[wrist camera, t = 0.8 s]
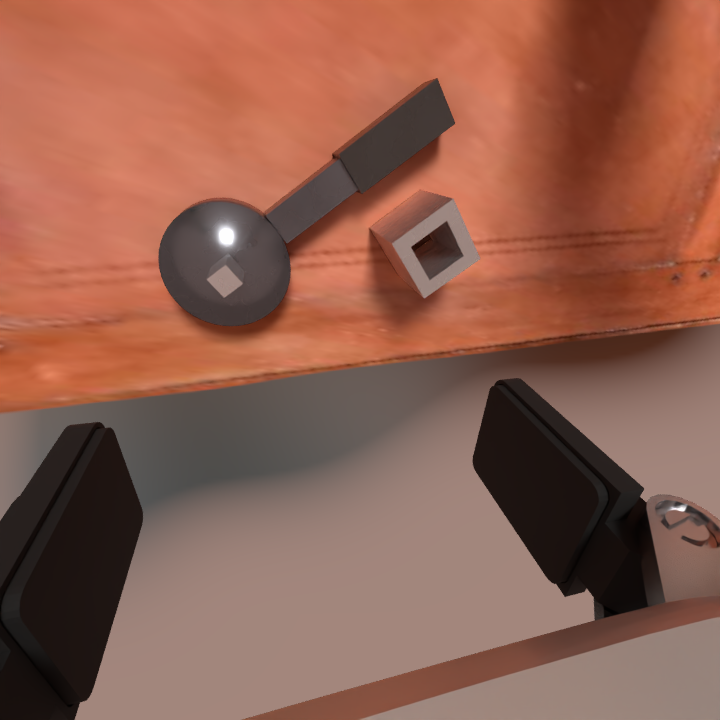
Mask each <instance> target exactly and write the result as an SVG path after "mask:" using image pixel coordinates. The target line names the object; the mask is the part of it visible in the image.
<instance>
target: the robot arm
mask: <svg viewBox="0 0 720 720" xmlns="http://www.w3.org/2000/svg"><path fill="white" fill-rule="evenodd" d="M473 466H474V469H475V471H476V473H477V474H478V476H479V477H480V479H481V480H482V482H483V483H484V485H485V486H486V488H487V489H488V491H489V492H490V494H491V495H492V496H493V498H494V500H495V501H496V503H497V504H498V505H499V507H500V508H501V510H502V511H503V513H504V515H505V516H506V517H507V519H508V520H509V522H510V523H511V525H512V526H513V528H514V529H515V531H516V532H517V534H518V535H519V537H520V538H521V540H522V541H523V543H524V544H525V546H526V547H527V549H528V550H529V552H530V553H531V555H532V556H533V558H534V559H535V561H536V562H537V564H538V565H539V567H540V568H541V570H542V571H543V573H544V574H545V576H546V577H547V578H548V580H550V581H551V582H552V583H554V584H557V586H558V587H559V589H560V590H561V592H562V593H563V595H564V596H565V597H566V596H570V595H573V594H578V593H582V592H584V591H585V590H586V588H587V589H588V590H589V592H590V593H591V594H592V596H593V597H594V616H595V621H592V622H588V623H584V624H581V625H577V626H573V627H570V628H566V629H563V630H559V631H555V632H552V633H548V634H544V635H541V636H537V637H533V638H530V639H526V640H522V641H519V642H515V643H511V644H508V645H504V646H501V647H497V648H493V649H490V650H486V651H483V652H479V653H475V654H472V655H468V656H465V657H461V658H458V659H454V660H451V661H447V662H443V663H440V664H436V665H433V666H430V667H426V668H422V669H418V670H415V671H411V672H408V673H404V674H401V675H397V676H394V677H390V678H386V679H383V680H380V681H376V682H373V683H369V684H365V685H362V686H358V687H355V688H351V689H347V690H344V691H340V692H337V693H333V694H330V695H326V696H323V697H319V698H316V699H312V700H309V701H305V702H302V703H298V704H295V705H291V706H288V707H284V708H281V709H278V710H274V711H271V712H267V713H264V714H260V715H257V716H253V717H249V718H246V719H243V720H720V520H719V519H718V518H716V517H715V516H713V515H712V514H711V513H710V512H708V511H707V510H705V509H704V508H702V507H700V506H698V505H697V504H695V503H693V502H690V501H688V500H685V499H683V498H680V497H676V496H672V495H655V496H652V497H650V499H649V500H648V501H647V502H645V501H644V500H643V499H642V498H641V497H640V495H641V494H642V492H643V490H644V488H643V487H642V486H641V485H640V484H639V483H637V482H636V481H635V480H634V479H633V478H632V477H631V476H630V475H628V474H627V473H626V472H625V471H624V470H623V469H622V468H621V467H619V466H618V465H617V464H616V463H615V462H614V461H613V460H612V459H610V458H609V457H608V456H607V455H606V454H605V453H604V452H602V451H601V450H600V449H599V448H598V447H597V446H596V445H595V444H593V443H592V442H591V441H590V440H589V439H588V438H587V437H586V436H585V435H583V434H582V433H581V432H580V431H579V430H578V429H577V428H576V427H574V426H573V425H572V424H571V423H570V422H569V421H568V420H566V419H565V418H564V417H563V416H562V415H561V414H560V413H559V412H558V411H556V410H555V409H554V408H553V407H552V406H551V405H550V404H549V403H547V402H546V401H545V400H544V399H543V398H542V397H541V396H540V395H538V394H537V393H536V392H535V391H534V390H533V389H532V388H531V387H529V386H528V385H527V384H526V383H525V382H524V381H523V380H521V379H519V378H514V379H505V380H499V381H497V382H496V383H495V385H494V386H492V387H491V388H490V391H489V395H488V399H487V403H486V407H485V411H484V415H483V419H482V423H481V427H480V431H479V435H478V439H477V443H476V447H475V451H474V455H473ZM142 522H143V512H142V507H141V505H140V502H139V499H138V496H137V494H136V491H135V488H134V485H133V483H132V480H131V477H130V474H129V471H128V469H127V466H126V463H125V460H124V458H123V455H122V452H121V449H120V447H119V444H118V441H117V438H116V435H115V433H114V431H113V429H112V428H105V427H104V425H103V424H102V423H100V422H95V423H85V424H77V425H70V426H68V427H66V428H65V429H64V431H63V432H62V434H61V435H60V437H59V438H58V440H57V441H56V443H55V444H54V446H53V447H52V449H51V450H50V452H49V453H48V455H47V456H46V458H45V459H44V461H43V462H42V464H41V465H40V467H39V468H38V470H37V471H36V473H35V474H34V476H33V477H32V479H31V480H30V482H29V483H28V485H27V486H26V488H25V489H24V491H23V492H22V494H21V495H20V496H19V497H18V498H17V499H16V500H15V501H14V502H13V503H12V504H11V506H10V507H9V509H8V510H7V512H6V513H5V515H4V516H3V518H2V519H1V521H0V720H74V719H75V716H76V713H77V710H78V707H79V704H80V702H83V701H86V700H87V699H88V698H89V696H90V695H91V693H92V690H93V687H94V684H95V681H96V678H97V674H98V671H99V667H100V664H101V661H102V658H103V654H104V651H105V648H106V644H107V641H108V637H109V634H110V630H111V627H112V624H113V620H114V617H115V614H116V611H117V607H118V604H119V601H120V597H121V594H122V590H123V587H124V584H125V580H126V577H127V573H128V570H129V567H130V564H131V560H132V557H133V554H134V550H135V547H136V543H137V540H138V537H139V533H140V530H141V526H142Z"/></svg>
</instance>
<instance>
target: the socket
mask: <svg viewBox="0 0 720 720" xmlns="http://www.w3.org/2000/svg"><path fill="white" fill-rule="evenodd" d="M369 228H370V230H371V231H372V233H373V234H374V236H375V238H376V239H377V241H378V243H379V244H380V246H381V248H382V249H383V251H384V253H385V254H386V256H387V257H388V259H389V261H390V262H391V264H392V266H393V267H394V269H395V271H396V272H397V274H398V275H399V276H400V277H401V278H402V279H403V280H404V281H405V282H406V283H407V284H408V285H410V286H411V287H412V288H413V289H414V290H415V291H416V292H417V293H418V294H420V295H421V296H422V297H423V298H426V297H427V296H429V295H430V294H432V293H433V292H434V291H436V290H437V289H439V288H440V287H441V286H443V285H444V284H446V283H447V282H448V281H450V280H451V279H453V278H454V277H456V276H457V275H458V274H460V273H461V272H463V271H464V270H465V269H467V268H468V267H470V266H471V265H472V264H474V263H475V262H477V261H478V260H480V257H479V255H478V252H477V250H476V248H475V246H474V244H473V241H472V239H471V237H470V235H469V232H468V230H467V228H466V226H465V223H464V221H463V219H462V217H461V215H460V212H459V210H458V208H457V206H456V203H455V201H454V199H453V198H449V197H445V196H442V195H438V194H434V193H430V192H427V191H423V190H419V191H418V192H416V193H415V194H414V195H412V196H411V197H410V198H408V199H407V200H406V201H404V202H403V203H402V204H400V205H399V206H397V207H396V208H395V209H393V210H392V211H391V212H389V213H388V214H387V215H385V216H384V217H383V218H381V219H380V220H379V221H377V222H376V223H375V224H373V225H372V226H371V227H369ZM428 234H429V236H430V237H431V239H430V240H429V241H427V242H426V243H425V244H423V245H422V246H420V247H419V248H418V249H416V250H415V251H414V252H413V250H412V248H411V246H413V245H414V244H416V243H417V242H418V241H420V240H421V239H422V238H424V237H425V236H427V235H428Z"/></svg>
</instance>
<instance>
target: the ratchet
mask: <svg viewBox="0 0 720 720" xmlns="http://www.w3.org/2000/svg"><path fill="white" fill-rule="evenodd" d="M454 124H455V122H454V119H453V116H452V114H451V111H450V109H449V106H448V104H447V101H446V99H445V96H444V94H443V91H442V89H441V86H440V84H439V81H438V79H437V78H436V79H433V80H430V81H428V82H425V83H423V84H422V85H420V86H419V87H418V88H416V89H415V90H414V91H413V92H411V93H410V94H409V95H407V96H406V97H405V98H403V99H402V100H401V101H400V102H398V103H397V104H396V105H394V106H393V107H392V108H391V109H389V110H388V111H387V112H385V113H384V114H383V115H382V116H380V117H379V118H378V119H376V120H375V121H374V122H373V123H371V124H370V125H369V126H367V127H366V128H365V129H364V130H362V131H361V132H360V133H358V134H357V135H356V136H354V137H353V138H352V139H351V140H349V141H348V142H347V143H345V144H344V145H343V146H342V147H340V148H339V149H338V150H336V151H335V152H334V153H333V155H334V157H335V158H333V159H332V160H331V161H330V162H328V163H327V164H326V165H324V166H323V167H322V168H320V169H319V170H318V171H317V172H315V173H314V174H313V175H311V176H310V177H309V178H308V179H306V180H305V181H304V182H302V183H301V184H300V185H299V186H297V187H296V188H295V189H293V190H292V191H291V192H289V193H288V194H287V195H286V196H284V197H283V198H282V199H280V200H279V201H278V202H277V203H275V204H274V205H273V206H271V207H270V208H269V209H267V210H266V211H265V214H264V213H263V212H261V211H260V210H258V209H257V208H255V207H254V206H252V205H250V204H248V203H245V202H242V201H239V200H235V199H230V198H212V199H206V200H203V201H199V202H197V203H195V204H193V205H191V206H190V207H188V208H187V209H185V210H184V211H183V212H182V213H181V214H180V215H179V216H178V217H176V218H175V219H174V220H173V221H172V223H171V224H170V225H169V226H168V228H167V229H166V231H165V233H164V235H163V238H162V240H161V243H160V248H159V269H160V273H161V277H162V279H163V282H164V284H165V286H166V288H167V290H168V291H169V293H170V294H171V296H172V297H173V298H174V300H175V301H176V302H177V303H178V304H179V305H180V306H181V307H182V308H184V309H185V310H186V311H187V312H189V313H190V314H192V315H193V316H195V317H197V318H199V319H201V320H204V321H206V322H209V323H213V324H216V325H223V326H239V325H245V324H249V323H252V322H255V321H258V320H260V319H262V318H263V317H265V316H267V315H268V314H269V313H271V312H272V311H273V310H274V309H275V308H276V307H277V306H278V305H279V303H280V302H281V300H282V299H283V297H284V295H285V293H286V291H287V288H288V285H289V281H290V272H291V268H290V259H289V255H288V251H287V248H286V245H285V242H286V243H289V242H290V241H291V240H293V239H294V238H295V237H297V236H298V235H299V234H301V233H302V232H303V231H305V230H306V229H307V228H308V227H310V226H311V225H312V224H314V223H315V222H316V221H318V220H319V219H320V218H322V217H323V216H324V215H326V214H327V213H328V212H330V211H331V210H332V209H334V208H335V207H336V206H338V205H339V204H340V203H342V202H343V201H344V200H345V199H347V198H348V197H349V196H351V195H352V194H353V193H355V192H359V193H361V194H363V193H364V192H365V191H367V190H368V189H369V188H371V187H372V186H373V185H375V184H376V183H377V182H379V181H380V180H381V179H382V178H384V177H385V176H386V175H388V174H389V173H390V172H392V171H393V170H394V169H396V168H397V167H398V166H400V165H401V164H402V163H404V162H405V161H406V160H408V159H409V158H410V157H412V156H413V155H414V154H416V153H417V152H418V151H420V150H421V149H422V148H424V147H425V146H426V145H428V144H429V143H430V142H431V141H433V140H434V139H435V138H437V137H438V136H439V135H441V134H442V133H443V132H445V131H446V130H447V129H449V128H450V127H451V126H453V125H454ZM284 240H285V242H284Z"/></svg>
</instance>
